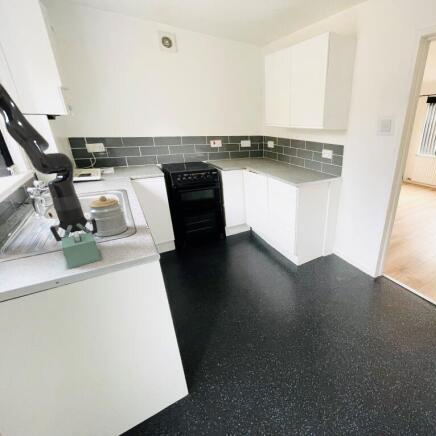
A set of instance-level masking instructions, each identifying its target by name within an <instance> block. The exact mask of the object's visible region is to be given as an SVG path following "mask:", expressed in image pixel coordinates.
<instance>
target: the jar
mask: <svg viewBox="0 0 436 436" xmlns="http://www.w3.org/2000/svg"><path fill="white" fill-rule="evenodd" d="M119 202H120V201H119V200H117V199H115V198H107V196H106V195H101V196H99V198H98V199H96V200H93V201H91V203H89V204H88V207H89V209H88V210H87V212H88V213H89V214H90V216H89V219H92V218H95V220H96V225H97V231H98V232H97V233H95V234H94V235H96V237H111V236H115V235H118V234H122V233H124V232H125V231H127V229H128V224H127V221H126V218H125V213H124V211H123V210H122V208H123V205H122V204H120V203H119Z"/></svg>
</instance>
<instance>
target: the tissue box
mask: <svg viewBox="0 0 436 436" xmlns="http://www.w3.org/2000/svg"><path fill="white" fill-rule="evenodd" d="M84 233H85V234H81V233H79V231H76V232H74V233H73V235H74V236H73V235H70V236H71V237H70V236H68V237H66V238H62V239H61V240H62V241H61V251H62V252H63V256H64V259H65V261H66V263H67V266H68V269H72V268H76V267H80V266H84V265H87V264H92V263H95V262H98V261H101V260H102V259H101V256H100V253H99V250H98V246H97V243H96V241H95V240H96V239H95V237H94V234H92V232H90V233H86V232H84ZM79 234H80V235H79Z"/></svg>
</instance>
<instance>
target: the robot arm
mask: <svg viewBox="0 0 436 436" xmlns="http://www.w3.org/2000/svg"><path fill="white" fill-rule="evenodd" d="M0 114H1V116H2V118H3V121H4V126H5V129H6V132H7V133H8V134H9V136H10V137H11V138H12V139H13V141H15V142H16V143H17V144H18V145H19V146H20V147H21V148H22V149H23V150H24V153H25V154H26V156H27V158H28V160H29V161H30V163H31V165H32V168H34V169H35V170H36V171H37V172H39V173H41V174H43V175H54V174H56V175H55V178H54V179H52V180H50V181H49V182H47V188H48V191H49V194H50V196H51V201H52V204H53V208H54V210H55V213H56V215H57V219H58V221H59V223H58V224H55V225H50V227H49V230H50V231H51V233H52V235H53V237H54V239H55V241H56V242H62V240H61V239H62V238H66V237H70V234H74V233H76V232H82V231H83V233H90V232H92V234H93V235H96V234H95V233H97V232H98V231H97V225H96V220H95V218H92V219H90V218H86V217H85V214H84V211H83V207H82V204H81V202H80V198H79V197H78V194H77V192H76V189H75V185H74V163H73V161H72V159H71V158H70V157H69V155H67V154H66V153H63V152H51V153H45V152H46V151H47V150H48V148H49V147H50V143H49V142H48V141H47V139H46V138H45V137H44V136H43V135H42V134H41V133H40V132H39V131H38V130H37V129H36V128H35V127H34V126H33V125H32V124H31V123H30V121H29V120H28V119H27V118H26V117H25V115H24V113H23V111H21V109H20V108H19V107H18V105H17V104H16V103H15V101H14V99H13V98H12V96H11V95H10V94H9V92H8V91H7V89H6V88H5V87H4V86H3V84H2V83H1V82H0ZM88 223H89V225H92V230H91V229H89V228H88V227H87V226H86V225H87V224H88ZM59 229H62V230H64V234H63V236H60V234H59V232H58V231H60V230H59Z"/></svg>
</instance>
